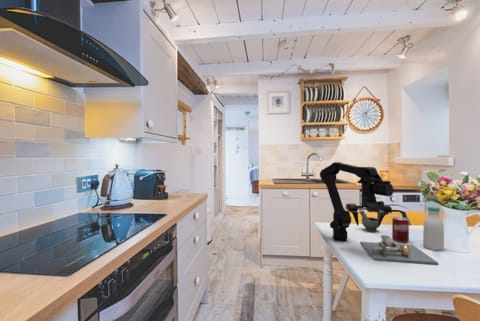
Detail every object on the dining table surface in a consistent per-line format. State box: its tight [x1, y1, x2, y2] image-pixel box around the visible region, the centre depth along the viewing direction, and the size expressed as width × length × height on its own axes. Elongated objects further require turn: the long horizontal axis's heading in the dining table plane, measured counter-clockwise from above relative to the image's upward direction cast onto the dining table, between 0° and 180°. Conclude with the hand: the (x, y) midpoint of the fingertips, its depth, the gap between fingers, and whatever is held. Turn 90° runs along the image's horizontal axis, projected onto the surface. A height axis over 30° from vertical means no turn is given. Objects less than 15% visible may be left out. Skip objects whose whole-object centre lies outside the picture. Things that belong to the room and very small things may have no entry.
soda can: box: [391, 216, 410, 244], centre depth 125 cm, size 7×7×12 cm
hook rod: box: [370, 245, 410, 256], centre depth 105 cm, size 15×4×4 cm, turn 79°
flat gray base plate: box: [359, 241, 439, 266], centre depth 109 cm, size 24×20×1 cm
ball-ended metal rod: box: [380, 234, 397, 247], centre depth 113 cm, size 12×4×4 cm, turn 169°
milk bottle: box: [422, 205, 445, 252], centre depth 115 cm, size 8×8×20 cm
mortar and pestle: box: [358, 210, 379, 233], centre depth 142 cm, size 11×9×12 cm
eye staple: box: [378, 241, 386, 257], centre depth 106 cm, size 1×5×6 cm, turn 168°
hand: (368, 225), depth 113 cm, fingers open, 9 cm apart
